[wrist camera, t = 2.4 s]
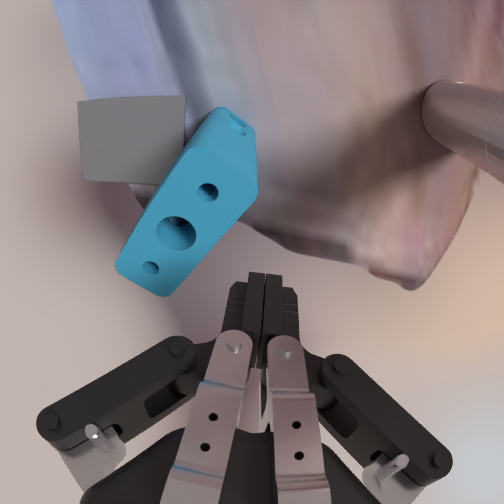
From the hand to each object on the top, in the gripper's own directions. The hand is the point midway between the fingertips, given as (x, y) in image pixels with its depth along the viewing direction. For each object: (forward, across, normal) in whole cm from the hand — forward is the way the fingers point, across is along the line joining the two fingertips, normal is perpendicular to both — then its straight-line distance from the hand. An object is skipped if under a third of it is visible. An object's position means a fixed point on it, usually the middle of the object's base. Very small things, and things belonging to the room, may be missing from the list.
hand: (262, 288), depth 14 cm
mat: (+26, +19, 0) cm, 32 cm away
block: (+26, +8, 0) cm, 27 cm away
